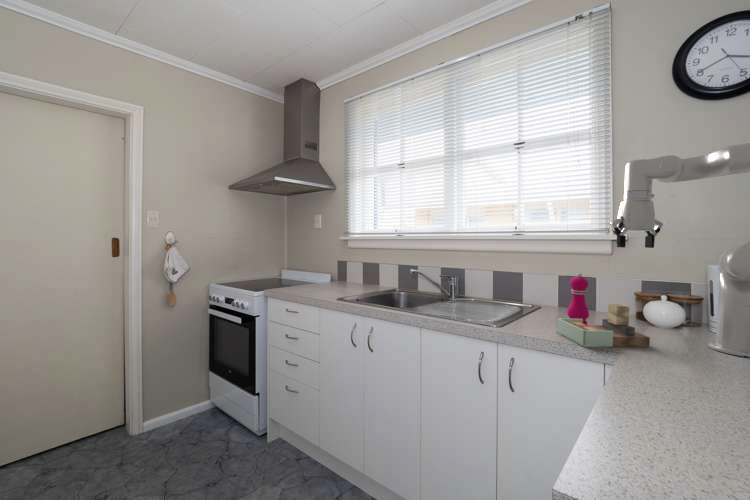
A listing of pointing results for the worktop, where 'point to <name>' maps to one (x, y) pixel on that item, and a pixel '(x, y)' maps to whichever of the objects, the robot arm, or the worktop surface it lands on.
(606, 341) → the tray
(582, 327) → the tile
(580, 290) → the pepper mill
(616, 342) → the board
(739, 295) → the robot arm
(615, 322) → the scraper
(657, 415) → the worktop surface
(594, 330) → the tile
